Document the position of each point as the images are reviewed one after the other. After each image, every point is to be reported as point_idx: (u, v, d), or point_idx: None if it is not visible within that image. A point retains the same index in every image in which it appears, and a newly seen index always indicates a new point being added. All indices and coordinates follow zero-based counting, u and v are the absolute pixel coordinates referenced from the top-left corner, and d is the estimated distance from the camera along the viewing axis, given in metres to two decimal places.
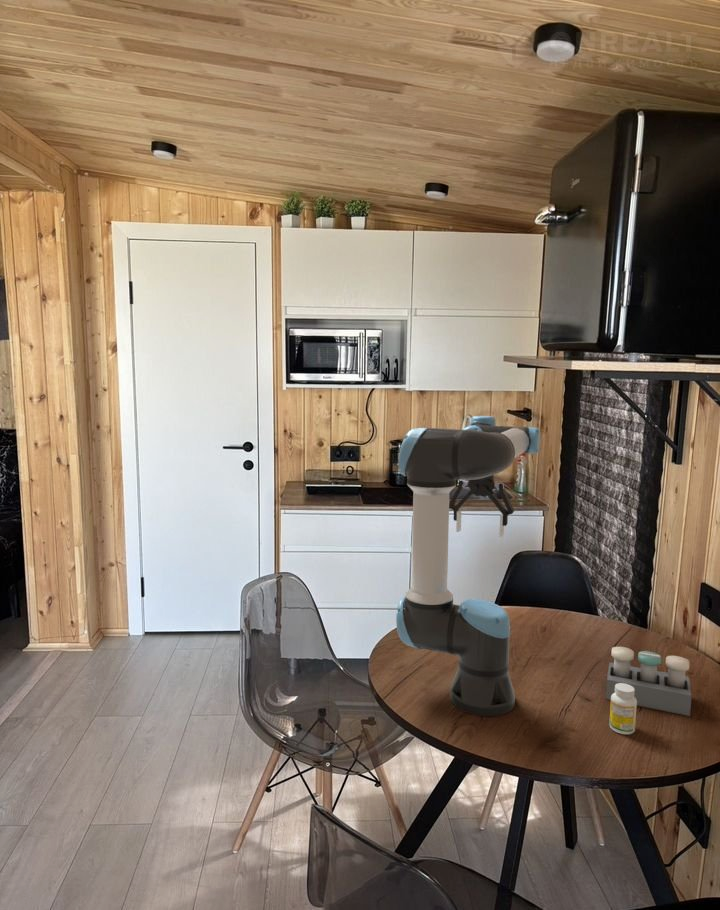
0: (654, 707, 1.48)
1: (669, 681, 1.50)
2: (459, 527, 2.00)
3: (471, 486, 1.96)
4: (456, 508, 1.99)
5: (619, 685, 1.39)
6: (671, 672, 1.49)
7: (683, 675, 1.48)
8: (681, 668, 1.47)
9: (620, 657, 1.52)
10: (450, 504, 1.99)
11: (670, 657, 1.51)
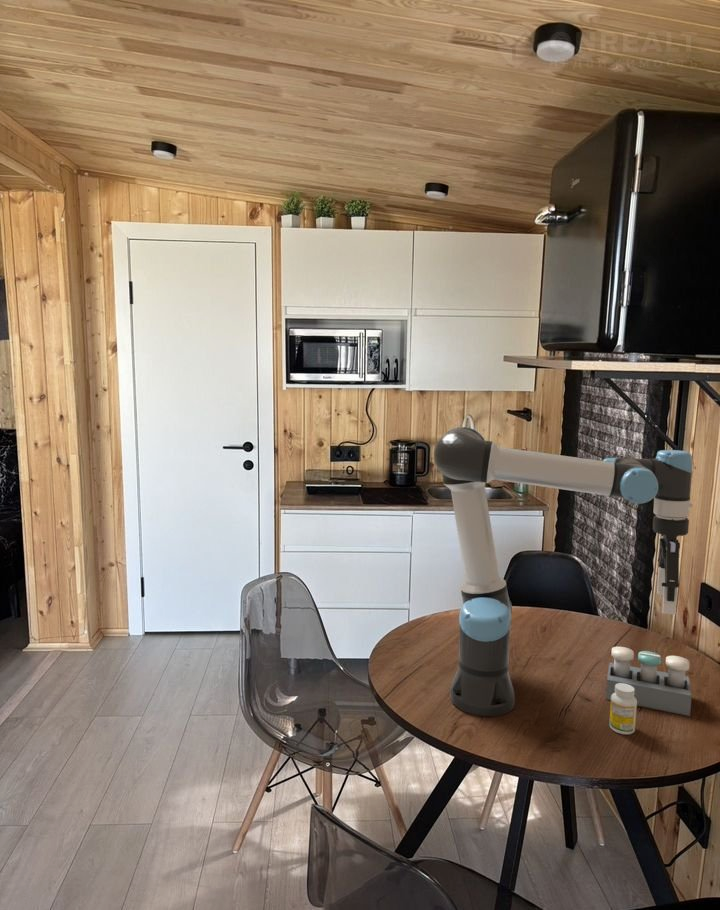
0: (654, 707, 1.48)
1: (669, 681, 1.50)
2: (662, 589, 1.57)
3: None
4: (659, 564, 1.57)
5: (619, 685, 1.39)
6: (671, 672, 1.49)
7: (683, 675, 1.48)
8: (681, 668, 1.47)
9: (620, 657, 1.52)
10: None
11: (670, 657, 1.51)
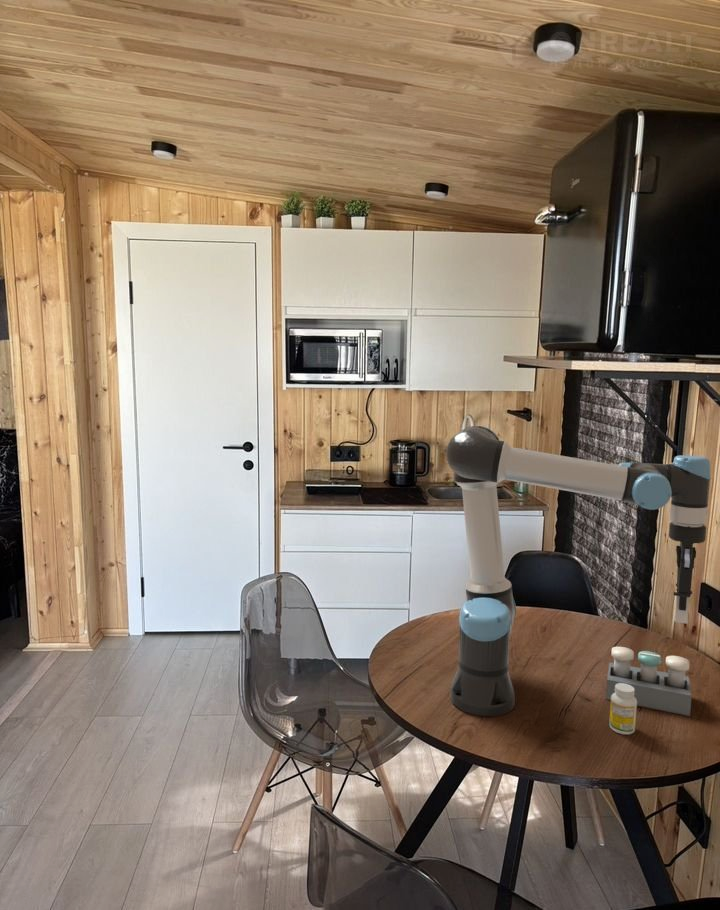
0: (654, 707, 1.48)
1: (669, 681, 1.50)
2: None
3: (680, 545, 1.48)
4: None
5: (619, 685, 1.39)
6: (671, 672, 1.49)
7: (683, 675, 1.48)
8: (681, 668, 1.47)
9: (620, 657, 1.52)
10: None
11: (670, 657, 1.51)
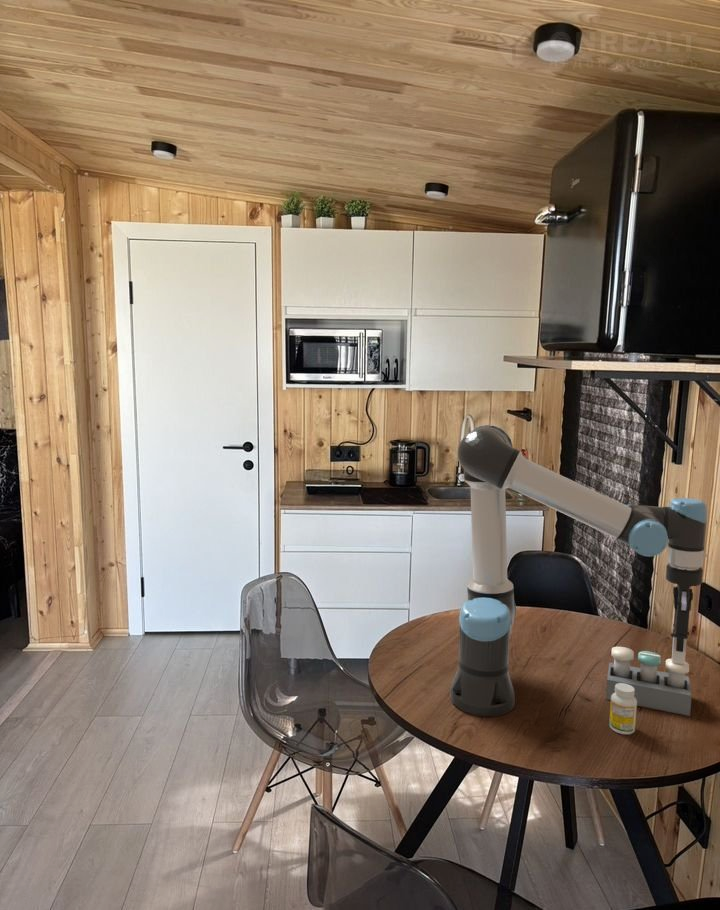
0: (654, 707, 1.48)
1: (669, 684, 1.50)
2: None
3: (677, 587, 1.50)
4: (674, 628, 1.50)
5: (619, 685, 1.39)
6: (670, 675, 1.49)
7: (683, 678, 1.48)
8: (681, 671, 1.47)
9: (620, 657, 1.52)
10: (674, 621, 1.52)
11: (670, 660, 1.51)
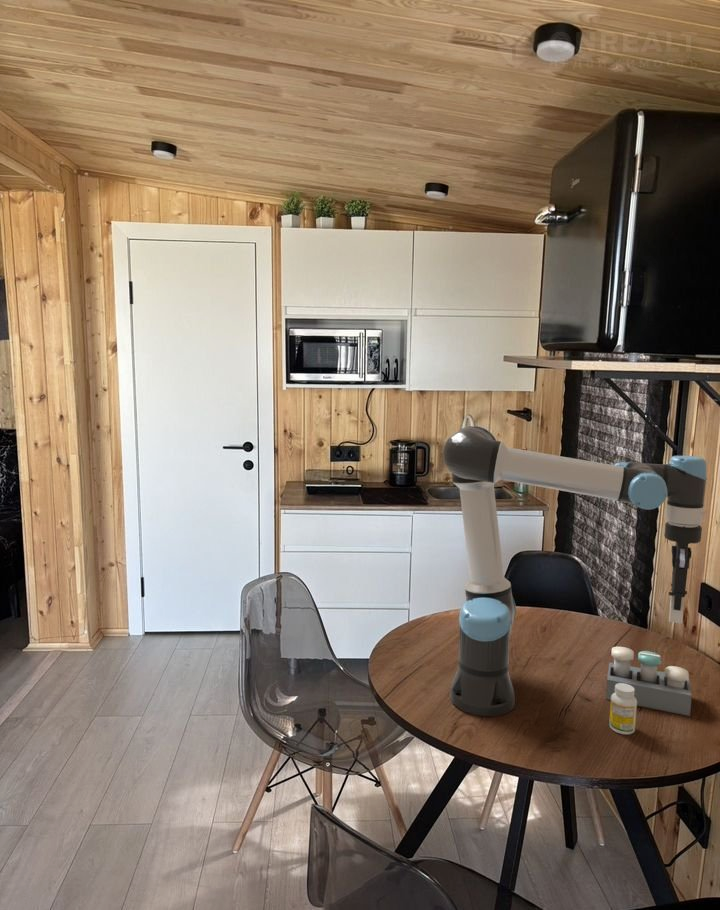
0: (654, 707, 1.48)
1: None
2: None
3: None
4: (672, 587, 1.49)
5: (619, 685, 1.39)
6: (670, 683, 1.49)
7: (682, 686, 1.48)
8: (680, 679, 1.47)
9: (620, 657, 1.52)
10: (672, 581, 1.51)
11: (670, 667, 1.51)
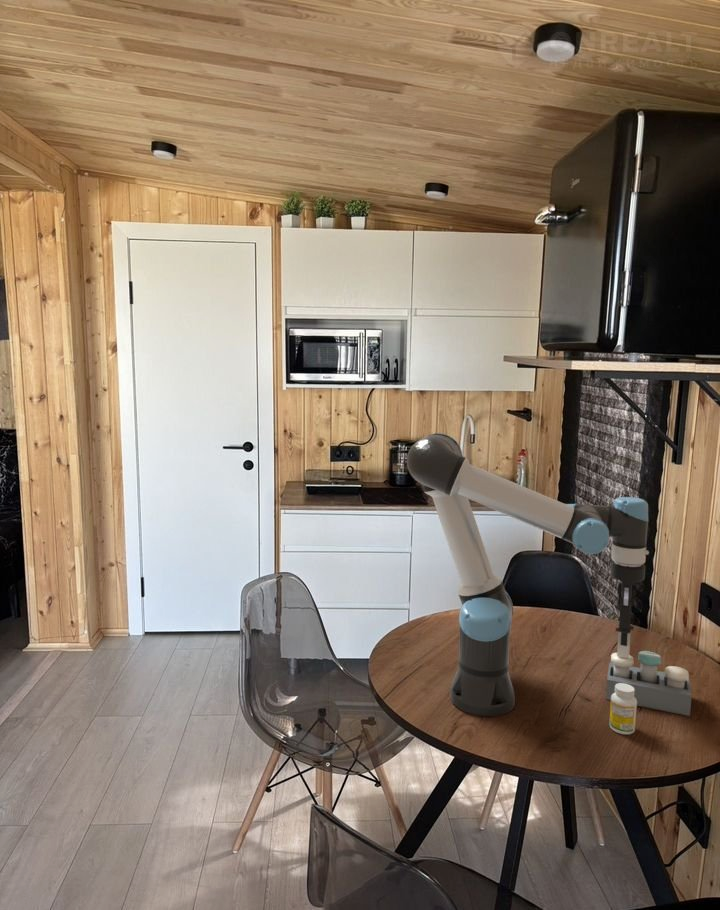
0: (654, 707, 1.48)
1: None
2: None
3: None
4: None
5: (619, 685, 1.39)
6: (670, 683, 1.49)
7: (682, 686, 1.48)
8: (680, 679, 1.47)
9: (620, 663, 1.52)
10: None
11: (670, 667, 1.51)
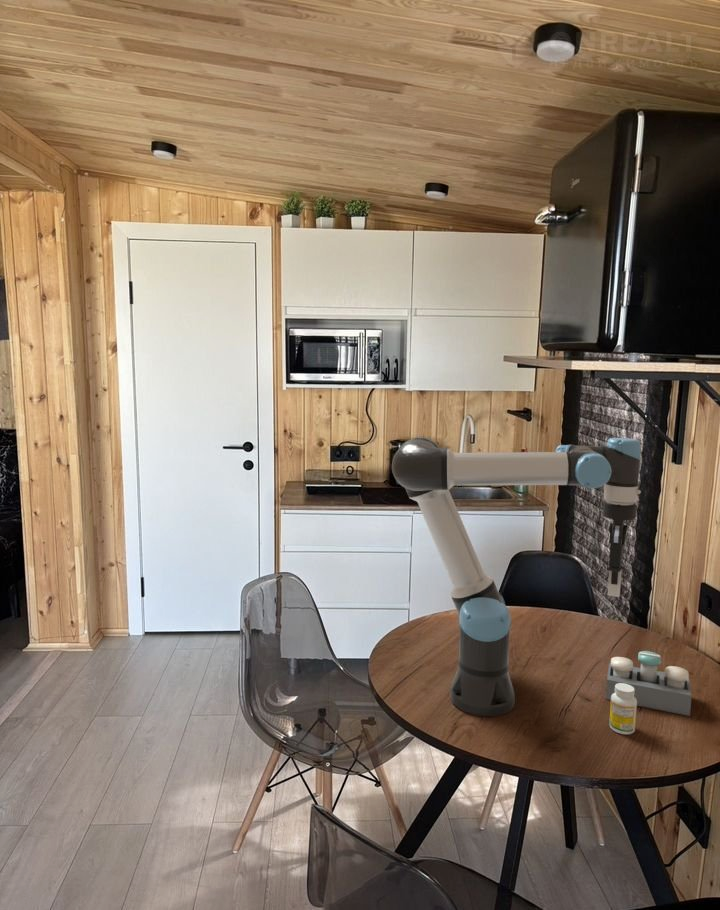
0: (654, 707, 1.48)
1: None
2: None
3: None
4: None
5: (619, 685, 1.39)
6: (670, 683, 1.49)
7: (682, 686, 1.48)
8: (680, 679, 1.47)
9: (619, 668, 1.53)
10: None
11: (670, 667, 1.51)
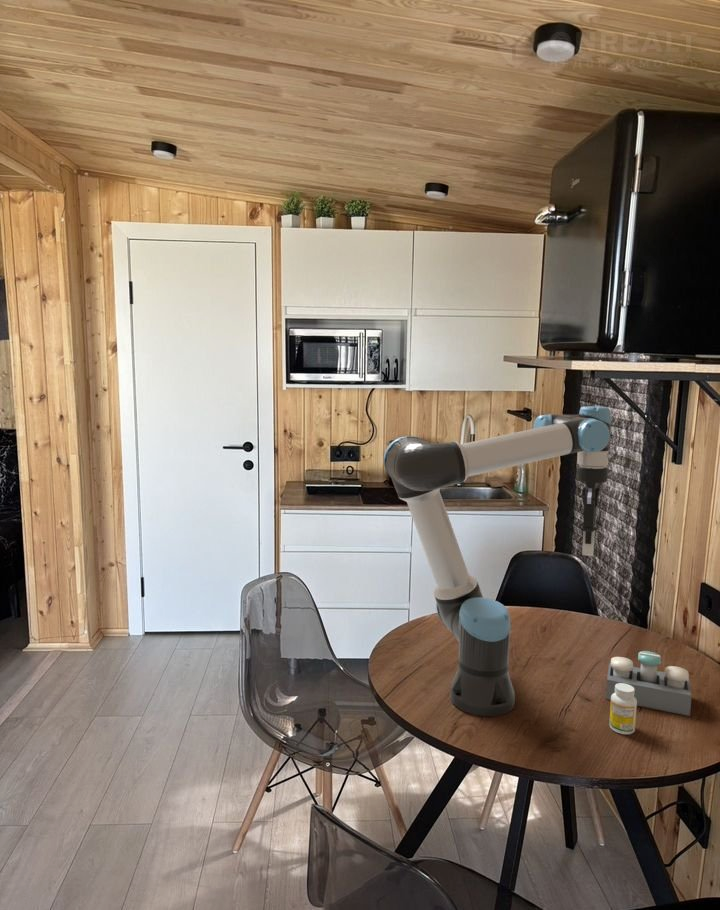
0: (654, 707, 1.48)
1: None
2: None
3: None
4: None
5: (619, 685, 1.39)
6: (670, 683, 1.49)
7: (682, 686, 1.48)
8: (680, 679, 1.47)
9: (619, 668, 1.53)
10: None
11: (670, 667, 1.51)
